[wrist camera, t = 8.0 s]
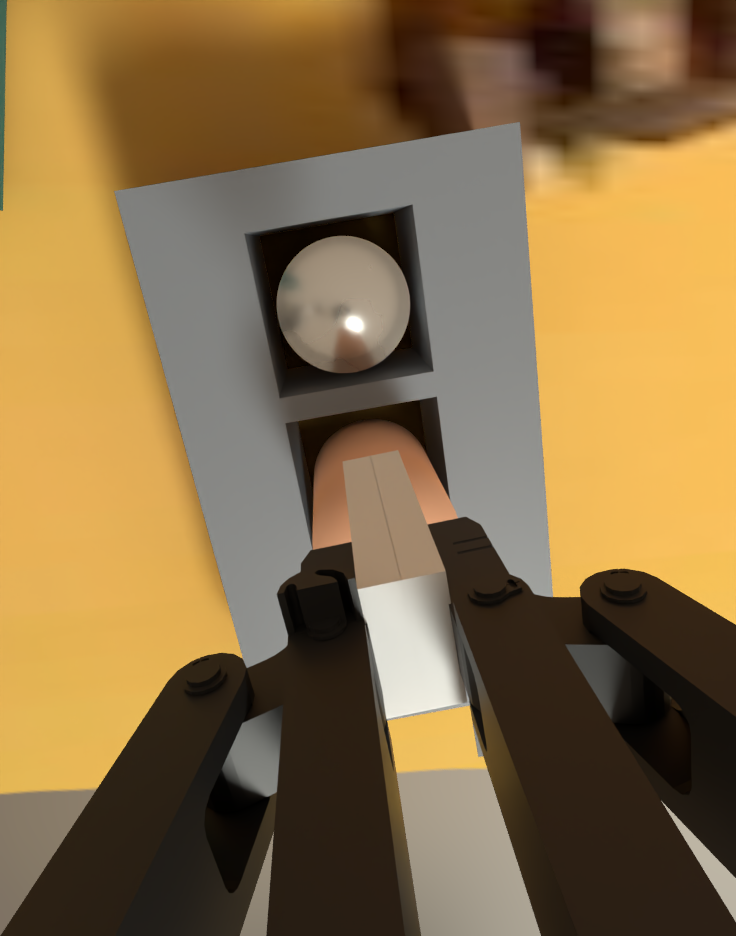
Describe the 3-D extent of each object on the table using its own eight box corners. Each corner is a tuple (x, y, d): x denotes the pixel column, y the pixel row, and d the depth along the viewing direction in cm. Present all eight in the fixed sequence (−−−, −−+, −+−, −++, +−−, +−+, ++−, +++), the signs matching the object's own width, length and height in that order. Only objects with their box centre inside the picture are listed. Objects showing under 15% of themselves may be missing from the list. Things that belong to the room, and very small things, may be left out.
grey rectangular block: (274, 662, 35) (266, 742, 29) (157, 202, 27) (114, 191, 21) (521, 618, 35) (559, 688, 30) (478, 147, 27) (519, 121, 21)
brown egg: (325, 536, 27) (327, 616, 21) (303, 430, 25) (299, 485, 19) (435, 516, 27) (467, 591, 21) (421, 409, 25) (451, 458, 20)
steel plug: (297, 356, 29) (291, 383, 23) (275, 247, 28) (263, 248, 22) (398, 338, 29) (418, 361, 23) (383, 229, 28) (399, 225, 22)
